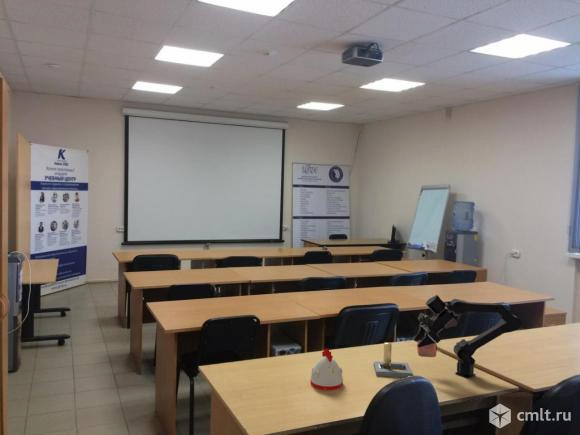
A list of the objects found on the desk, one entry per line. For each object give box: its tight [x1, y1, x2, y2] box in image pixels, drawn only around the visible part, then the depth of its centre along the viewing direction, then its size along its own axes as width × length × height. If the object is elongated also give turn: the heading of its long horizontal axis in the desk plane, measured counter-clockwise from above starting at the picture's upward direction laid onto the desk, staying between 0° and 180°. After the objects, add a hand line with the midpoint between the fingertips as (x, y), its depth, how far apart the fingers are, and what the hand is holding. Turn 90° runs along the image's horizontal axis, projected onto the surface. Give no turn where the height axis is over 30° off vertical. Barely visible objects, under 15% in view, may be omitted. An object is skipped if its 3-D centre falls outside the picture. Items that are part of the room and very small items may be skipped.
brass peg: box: [381, 341, 394, 370], centre depth 210 cm, size 5×5×13 cm
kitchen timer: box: [310, 348, 344, 391], centre depth 195 cm, size 14×14×15 cm
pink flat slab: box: [416, 339, 437, 358], centre depth 243 cm, size 27×10×2 cm, turn 163°
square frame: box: [373, 360, 413, 378], centre depth 210 cm, size 16×13×2 cm
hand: (416, 343), depth 209 cm, fingers open, 9 cm apart
